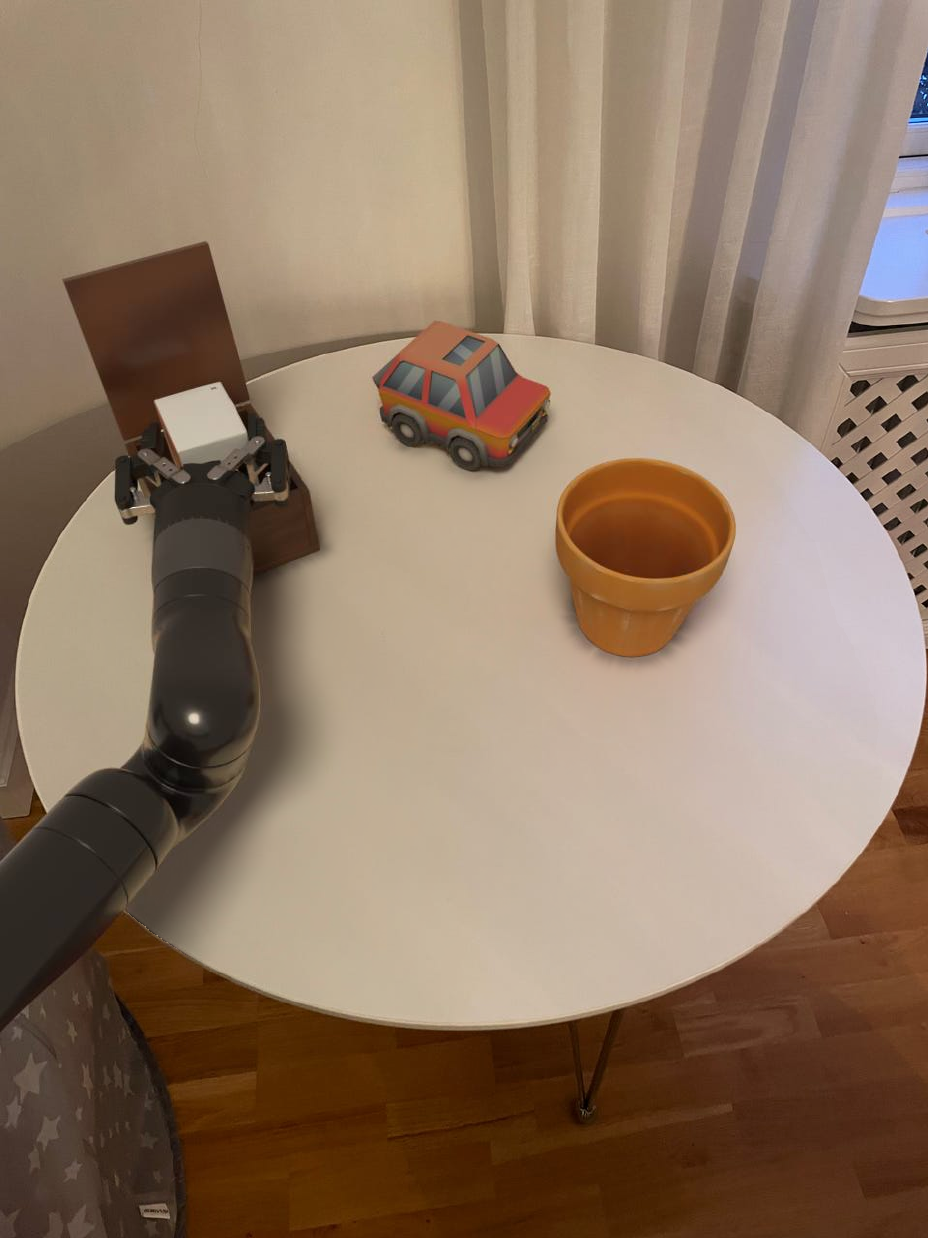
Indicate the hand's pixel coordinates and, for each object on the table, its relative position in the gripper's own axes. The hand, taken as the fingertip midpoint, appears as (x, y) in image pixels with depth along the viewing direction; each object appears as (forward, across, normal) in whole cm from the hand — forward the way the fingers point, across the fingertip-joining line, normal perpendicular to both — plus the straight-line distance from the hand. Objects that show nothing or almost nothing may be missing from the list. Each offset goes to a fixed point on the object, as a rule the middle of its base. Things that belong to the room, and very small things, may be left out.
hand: (205, 425), depth 83 cm
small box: (0, 0, +12) cm, 12 cm away
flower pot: (-18, -35, +12) cm, 41 cm away
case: (0, 0, +12) cm, 12 cm away
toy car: (+11, -25, +12) cm, 30 cm away
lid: (+7, +3, -4) cm, 9 cm away
